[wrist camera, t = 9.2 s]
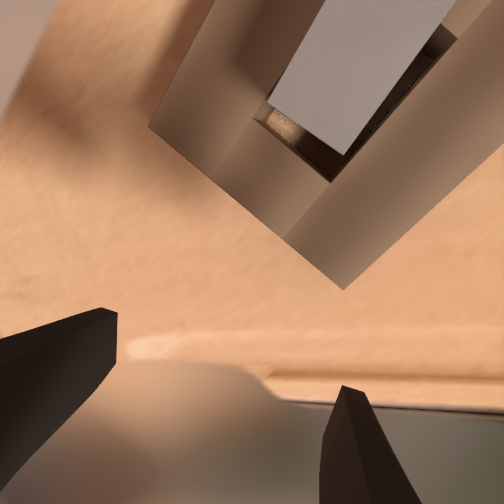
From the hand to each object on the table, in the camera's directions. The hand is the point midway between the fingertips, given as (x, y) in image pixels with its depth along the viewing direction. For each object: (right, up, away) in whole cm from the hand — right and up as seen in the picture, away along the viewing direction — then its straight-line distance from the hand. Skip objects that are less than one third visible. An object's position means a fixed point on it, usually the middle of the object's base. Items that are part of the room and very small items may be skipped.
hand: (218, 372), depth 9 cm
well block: (+5, +11, +5) cm, 13 cm away
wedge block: (+6, +11, +5) cm, 14 cm away
